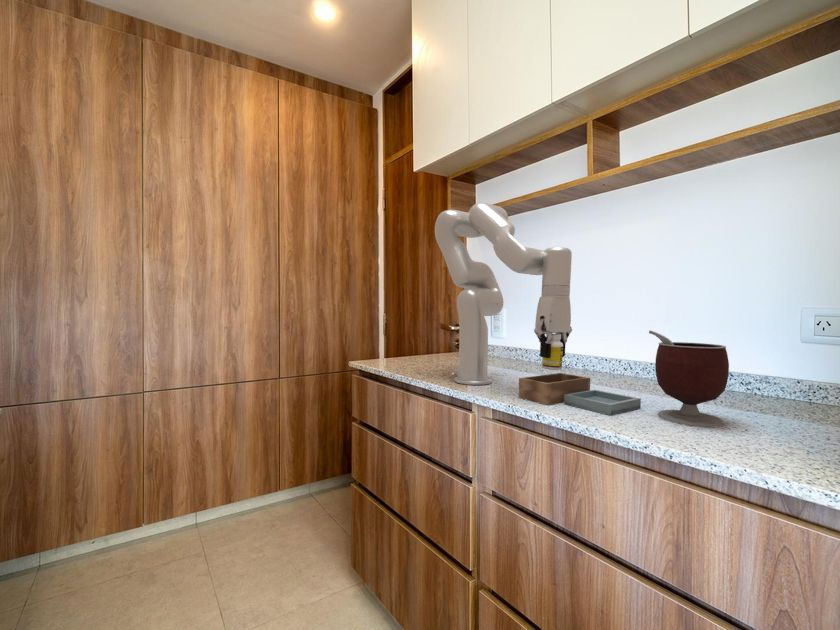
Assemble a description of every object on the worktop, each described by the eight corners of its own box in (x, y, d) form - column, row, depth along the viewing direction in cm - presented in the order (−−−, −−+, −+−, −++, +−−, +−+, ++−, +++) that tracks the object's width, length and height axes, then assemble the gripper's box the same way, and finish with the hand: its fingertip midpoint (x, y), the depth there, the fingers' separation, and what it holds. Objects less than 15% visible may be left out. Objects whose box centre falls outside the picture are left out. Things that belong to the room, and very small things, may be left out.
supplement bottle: (563, 370, 111) (565, 335, 111) (542, 369, 112) (544, 334, 112) (560, 367, 117) (562, 333, 116) (541, 366, 118) (542, 332, 117)
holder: (518, 397, 113) (519, 378, 113) (560, 390, 123) (560, 372, 123) (547, 405, 105) (548, 384, 105) (589, 397, 115) (590, 377, 115)
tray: (563, 404, 106) (564, 394, 106) (593, 398, 113) (593, 389, 113) (610, 415, 95) (611, 404, 95) (640, 408, 102) (640, 398, 102)
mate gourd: (729, 418, 94) (731, 332, 93) (725, 432, 83) (727, 334, 83) (653, 407, 104) (654, 329, 103) (640, 418, 93) (642, 331, 93)
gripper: (563, 293, 121) (560, 353, 122) (524, 291, 112) (521, 356, 113) (586, 293, 115) (582, 357, 116) (546, 291, 106) (542, 360, 107)
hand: (552, 356), depth 114 cm, fingers closed on supplement bottle, 5 cm apart
